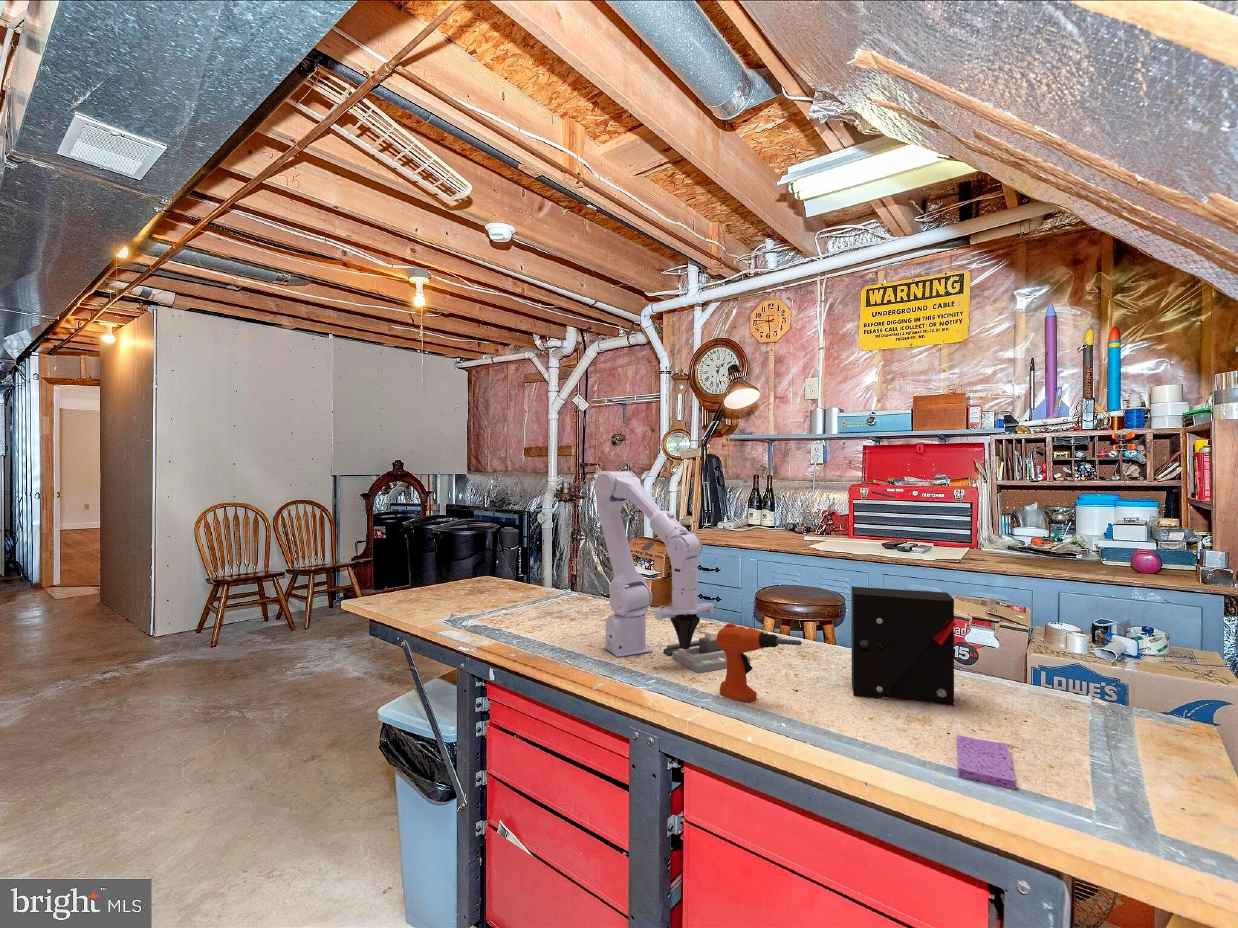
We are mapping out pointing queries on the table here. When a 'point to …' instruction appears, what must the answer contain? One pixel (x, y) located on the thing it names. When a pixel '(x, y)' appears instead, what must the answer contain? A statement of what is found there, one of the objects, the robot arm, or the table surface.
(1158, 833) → the table surface
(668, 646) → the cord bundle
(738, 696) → the toy drill
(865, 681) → the electrical component
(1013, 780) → the sponges
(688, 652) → the breaker panel
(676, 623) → the robot arm
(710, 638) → the breaker slider
